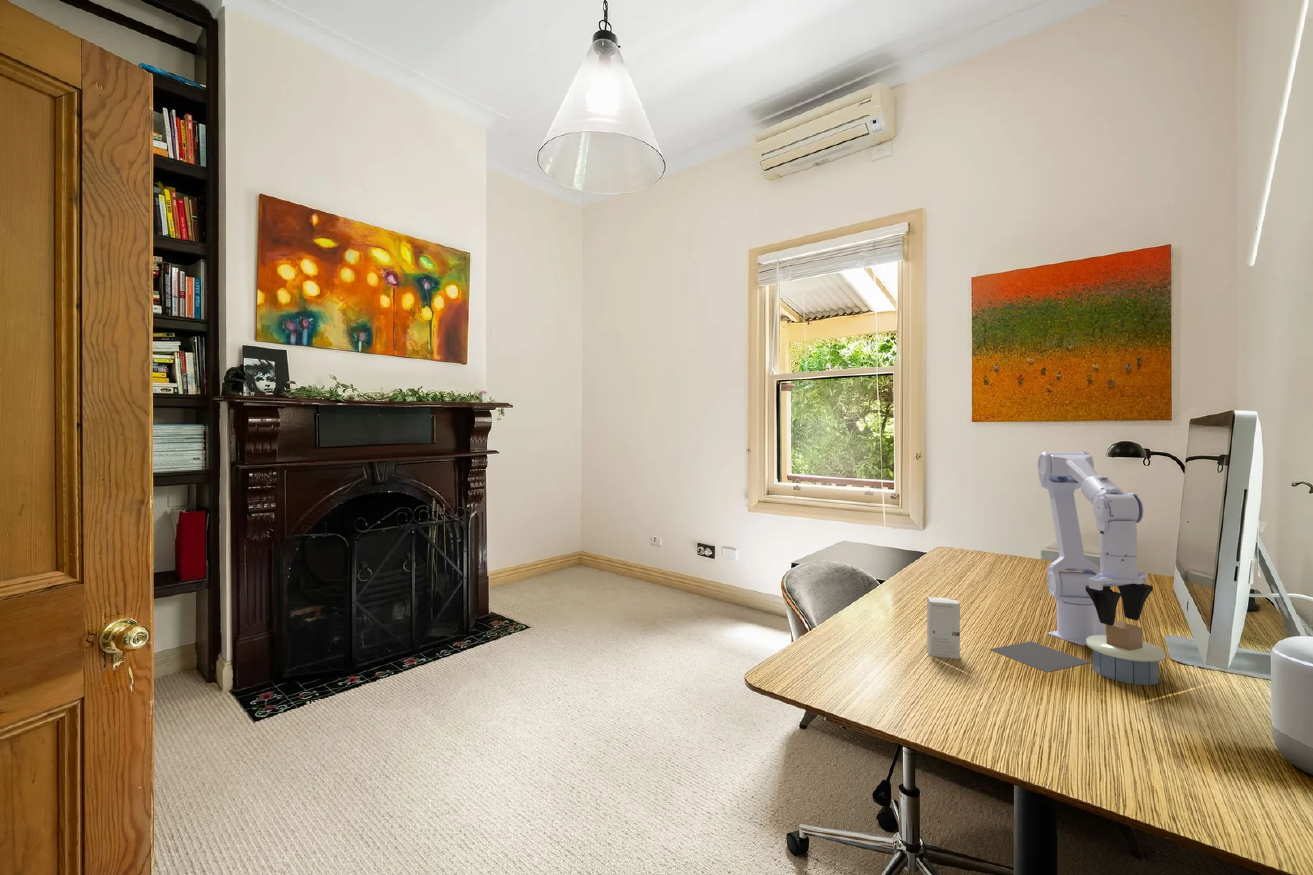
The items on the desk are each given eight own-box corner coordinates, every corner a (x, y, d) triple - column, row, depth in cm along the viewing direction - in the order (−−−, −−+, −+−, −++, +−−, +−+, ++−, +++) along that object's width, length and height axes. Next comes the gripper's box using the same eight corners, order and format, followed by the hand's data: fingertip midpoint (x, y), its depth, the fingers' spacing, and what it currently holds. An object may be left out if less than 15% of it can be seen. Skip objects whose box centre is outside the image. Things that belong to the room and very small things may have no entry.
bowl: (1114, 661, 117) (1113, 637, 117) (1171, 680, 107) (1170, 655, 107) (1081, 668, 114) (1080, 644, 114) (1137, 689, 104) (1136, 662, 104)
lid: (1111, 635, 118) (1111, 613, 118) (1180, 656, 107) (1179, 631, 107) (1072, 643, 114) (1071, 620, 114) (1138, 665, 103) (1138, 639, 103)
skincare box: (930, 657, 121) (928, 601, 121) (926, 649, 125) (925, 596, 125) (961, 660, 119) (960, 603, 119) (957, 652, 124) (955, 597, 124)
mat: (1031, 642, 128) (1031, 641, 128) (1091, 663, 116) (1091, 662, 116) (989, 650, 124) (989, 649, 124) (1046, 673, 112) (1046, 672, 112)
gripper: (1116, 561, 105) (1117, 632, 105) (1165, 554, 110) (1166, 622, 110) (1077, 554, 112) (1078, 621, 112) (1125, 547, 117) (1126, 612, 117)
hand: (1119, 621), depth 111 cm, fingers open, 7 cm apart
